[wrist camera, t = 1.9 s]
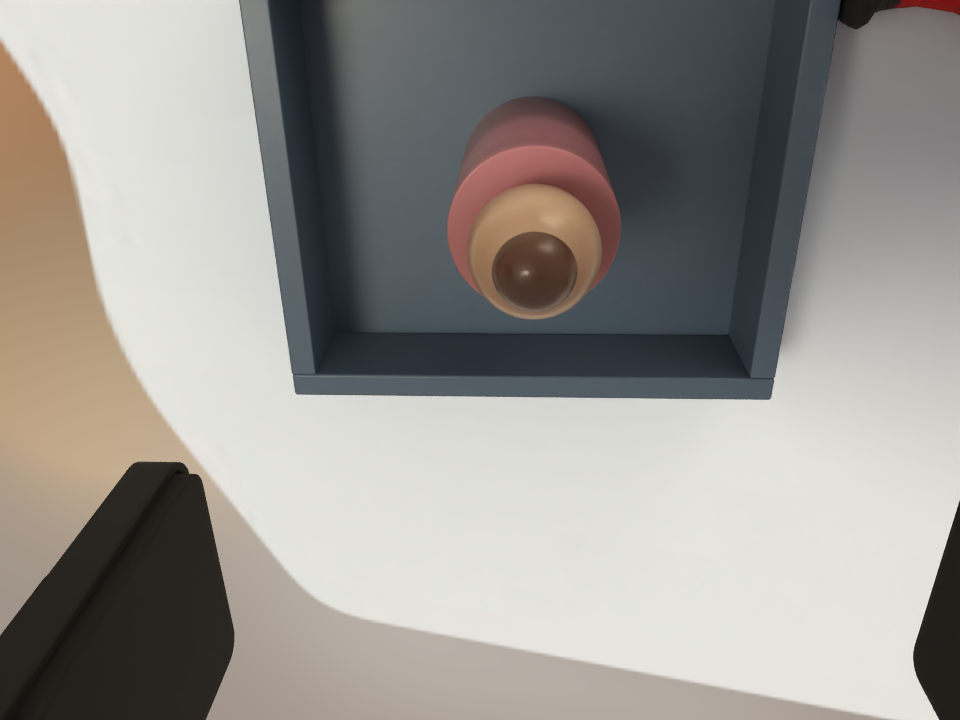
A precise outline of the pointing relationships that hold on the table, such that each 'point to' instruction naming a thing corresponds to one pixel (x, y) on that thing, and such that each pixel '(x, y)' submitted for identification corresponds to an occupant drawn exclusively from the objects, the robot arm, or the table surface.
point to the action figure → (886, 8)
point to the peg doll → (533, 210)
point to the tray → (626, 155)
